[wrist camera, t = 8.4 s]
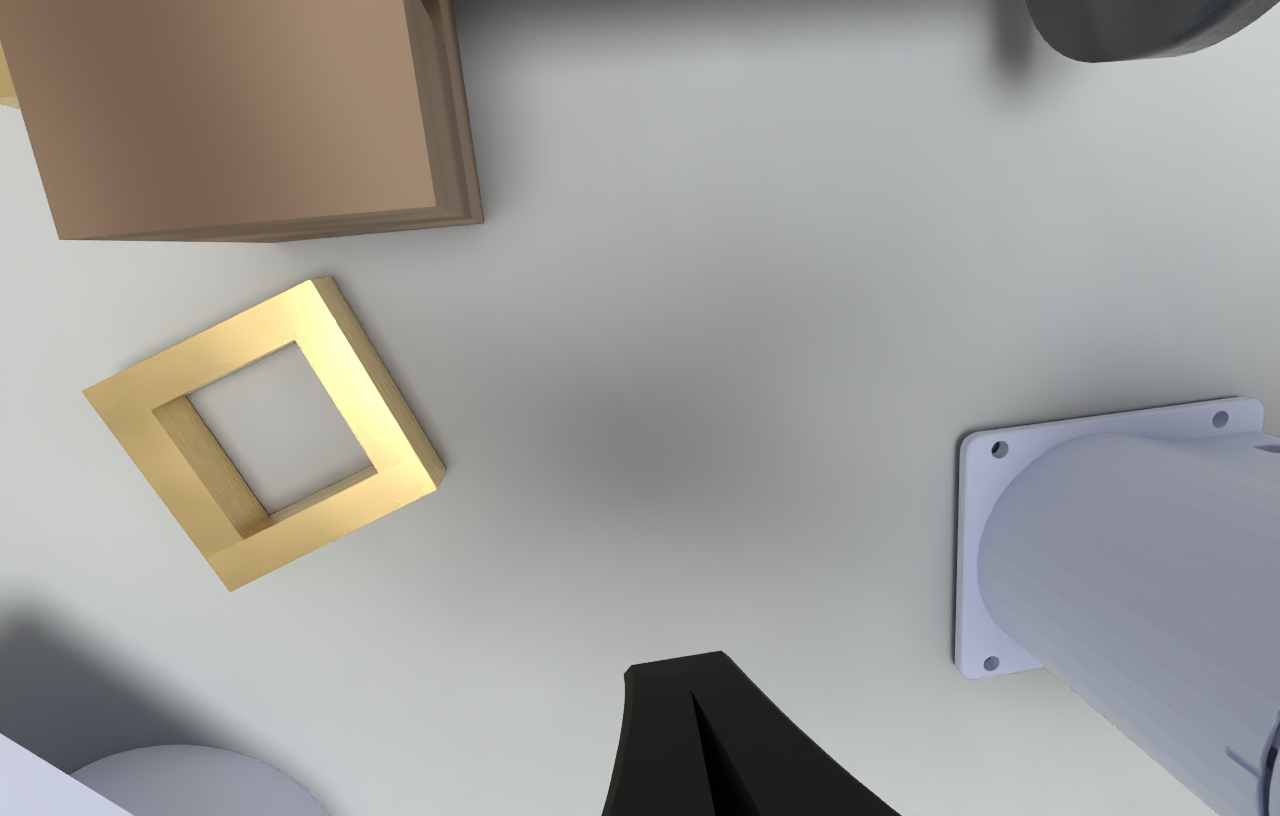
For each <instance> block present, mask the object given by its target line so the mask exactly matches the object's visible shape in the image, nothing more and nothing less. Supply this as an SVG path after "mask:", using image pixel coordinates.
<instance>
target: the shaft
mask: <svg viewBox="0 0 1280 816" xmlns="http://www.w3.org/2000/svg"><path fill="white" fill-rule="evenodd" d="M1279 1H1280V0H1026V3H1027V6H1028V9H1029V12H1030V15H1031V17H1032V19H1033V21H1034V24H1035V26H1036V28H1037V29H1038V31H1039V32H1040V34H1041V35H1042V37H1043V38H1044V40H1045V41H1046V42H1047V43H1048V44H1049V45H1050V46H1051V47H1052V48H1053V49H1055V50H1056V51H1058V52H1059V53H1061V54H1062V55H1064V56H1066V57H1068V58H1071V59H1074V60H1077V61H1082V62H1089V63H1096V62H1111V61H1125V60H1138V59H1151V58H1165V57H1176V56H1180V55H1185V54H1189V53H1194V52H1196V51H1199V50H1202V49H1204V48H1207V47H1210V46H1212V45H1215V44H1217V43H1218V42H1220V41H1222V40H1224V39H1226V38H1228V37H1230V36H1232V35H1234V34H1236V33H1237V32H1239V31H1240V30H1242V29H1243V28H1245V27H1246V26H1248V25H1249V24H1251V23H1252V22H1254V21H1255V20H1257V19H1258V18H1260V17H1261V16H1262V15H1263V14H1265V13H1266V12H1267V11H1268V10H1269V9H1271V8H1272V7H1273V6H1274V5H1276V4H1277V3H1278V2H1279Z"/></svg>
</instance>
